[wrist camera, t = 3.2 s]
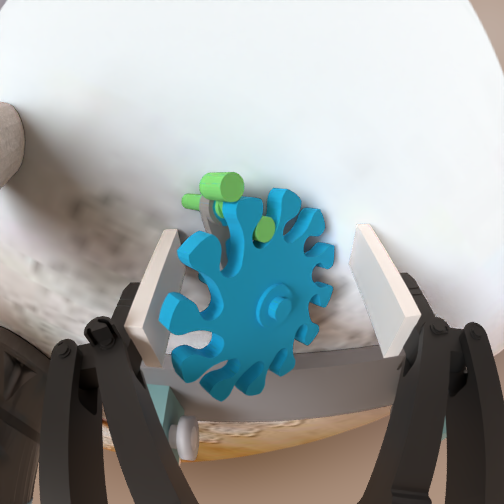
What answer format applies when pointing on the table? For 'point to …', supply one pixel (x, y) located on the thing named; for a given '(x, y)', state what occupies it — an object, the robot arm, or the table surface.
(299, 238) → the gear
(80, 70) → the table surface
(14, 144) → the house plant
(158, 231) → the table surface
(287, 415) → the shaft stand
